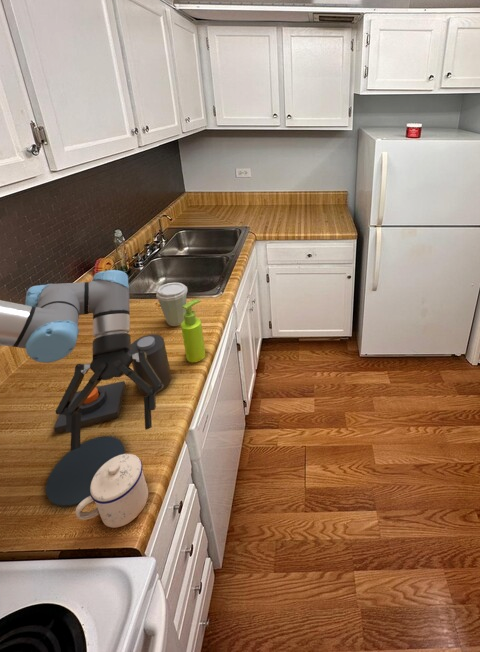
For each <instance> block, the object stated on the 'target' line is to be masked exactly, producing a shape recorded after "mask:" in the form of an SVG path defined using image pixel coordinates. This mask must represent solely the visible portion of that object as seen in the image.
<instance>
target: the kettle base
mask: <svg viewBox="0 0 480 652" xmlns="http://www.w3.org/2000/svg"><path fill="white" fill-rule="evenodd" d="M126 387H127V385H126V381H125V380H122V381H117V382H112V383H109V384H104V385H99V386H96V388H97V389H98V393H99V397H98V398H97V399H96V400H95V401H94V402H92V403H90V404H82V405H81V407H80V408H79V409H78V411H77V413H76V414H78V413H81V428H83V427H87V426H90V425H95V424H99V423H103V422H106V421H110V420H114V419H119V417H120V413H121V408H122V405H123V400H124V397H125V391H126ZM81 391H82V390H77V392H76V394H75V396H74V398H73V400H72V402H71V404H72V403H73V401H74V400H75V399H76V398H77V396H78V395H79V394H80V392H81ZM71 404H70V405H71ZM69 407H70V406H69ZM53 430H54V433H55V434H59V433H64V432H66V416H65V415H62V414H58V417H57V419H56V421H55V424H54V426H53Z"/></svg>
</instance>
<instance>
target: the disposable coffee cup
mask: <svg viewBox="0 0 480 652" xmlns="http://www.w3.org/2000/svg"><path fill="white" fill-rule="evenodd" d="M187 293H188V286H186V285H185V284H184V283H182V282H168V283H165V284H161V285H160V286H158V288H157V289H156V295H155V296H156V297H155V298H156V299H157V300H158V303H159V306H160V309H161V311H162V314H163V316H164V319H165V322H166V323H167V325H169V326H170V327H178V326H181V323H182V322H183V321H184V313H185V312H186V309H184V308H183V307H182V306H183V305H185V304H186V303H187V296H188V295H187Z"/></svg>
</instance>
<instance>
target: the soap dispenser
mask: <svg viewBox="0 0 480 652" xmlns="http://www.w3.org/2000/svg"><path fill="white" fill-rule="evenodd" d="M199 303H201V300H200V299H198V298H195V299H192V300H189V301H188V302H186V304H185V305H183V306H182V307H183V308H184V309H186V312H185V313H184V321H183V322H182V323H181V325H180V329H181V333H182V339H183V345H184V351H185V356H186V360H187V362H189V363H198V362H201V361H202V360H203V359H204V358H205V357H206V347H205V340H204V334H203V328H202V327H203V326H202V321H201V319H200V318H199V317H197V316H196V315H197V314H196V312H195V311H194V310H193V308H192V307H193V306H195V305H197V304H199Z"/></svg>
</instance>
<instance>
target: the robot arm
mask: <svg viewBox="0 0 480 652" xmlns="http://www.w3.org/2000/svg"><path fill="white" fill-rule="evenodd" d="M129 285H130V283H129V276H128V274H127V273H126V272H124V271H123V270H118V269H108V270H102V271H99V272H97V273H95V274H94V275H93V278H92V280H91V281H83V282H66V283H64V282H63V283H62V282H61V283H47V284H40V285H39V284H38V285H33V286H30V287H29V288H28V289H27V291H26V294H25V300H24V301H25V302H24V303H25V304H22V303H16V302H11V301H7V300H1V299H0V346H5V347H13V348H19V349H25V351H26V355H27V356H28V357H29V358H30V359H32V360H34V361H35V362H38V363H44V364H46V363H47V364H49V363H54V362H58V361H60V360H62V359H64V358H66V357H67V356H69V355H71V353H72V352H73V350H74V349H75V348H76V345H77V341H78V337H79V332H80V328H79V320H80V316H84V315H89V314H92V338H94V339H93V340H92V360H91V362H90V363H77V364H76V365H75V366H74V372H73V376H72V378H71V380H70V381H69V384H68V386H67V388H66V389H65V392H64V393H63V395H62V398H61V400H60V402H59V403H58V405H57V407H56V409H55V415H59V414H62V415H65V416H66V431H65V432H66V433H70V451H71V450H75V449H77V448H79V447H80V444H81V434H82V433H81V431H82V430H81V429H82V427H81V413H78V414H76V413H77V411H78V409H79V408H80V407H81V405H82V404H83V403H84V401H85V400H86V399H87V397H88V396H89V395H90V393H91V392H92V391H93V390H94V388H95V387H98V386H97V385H98V384H100V383H101V382H102V381H107V380H112V379H113V378H121V377H122V376H123V375H125V376H126V377H128V378H129V379H130V380H131V381H132V382H133V383H135V385H138V386H139V387H140V388H141V389H143V390H144V391H145V392H146V393H147V394H148V395H144V396H143V405H144V406H143V409H144V411H143V412H144V429H145V430H146V431H147V430H150V429H151V428H153V425H152V411H155V410H156V408H157V404H156V402H157V401H156V395H157V394H156V392H158V391H159V390H161V389H162V388H163V387H164V385H163V383H162V382H161V380H160V379H159V377H158V376H157V374H156V373H155V371H154V370H153V368H152V366H151V365H150V363H149V362H148V360H147V354H146V352H145V351H140V352H139V353H136V354H133V355H132V353H131V344H132V341H131V334H130V332H131V314H130V312H131V311H130V309H131V308H130V286H129ZM133 359H136V361H137V362H140V363H141V365H142V367H143V368H144V370H145V371H146V373H147V375H148V376H149V378H150V379H151V381H152V382H153V384H154V387H151V386H150V385H149V384H148V383H147V382H146V381H144V380H143V379H142V378H141V377H140V376H139V375H137V374H136V373H135V372H134V370H133V368H131V367H130V366H131V365H132V361H133ZM89 370H91V371H92V372H93V374H92V375H91V377H90V378H89V379H88V382H87V383H86V385H84V387H83V388H82V389H81V390H80V391H81V392H80V394H79V395H78V396H77V398H76V399H75V400H74V401H73V403H72V404H71V402H72V400H73V398H74V396H75V394H76V392H77V391H79V390H78V389H79V387H80V386H81V384H82V382H83V379H84V377H85V375H86V374H88V372H89ZM138 386H137V387H138ZM70 404H71V405H70ZM69 406H70V407H69Z"/></svg>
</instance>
